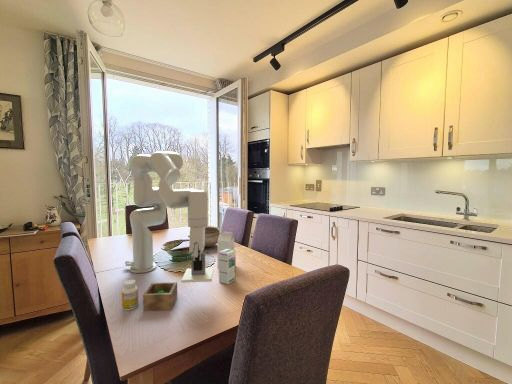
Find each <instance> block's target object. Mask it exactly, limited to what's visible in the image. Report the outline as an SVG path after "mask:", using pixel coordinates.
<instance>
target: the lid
mask: <svg viewBox="0 0 512 384" xmlns="http://www.w3.org/2000/svg"><path fill="white" fill-rule="evenodd" d="M198 255H199V257H200V254H198ZM190 259H191V260H190V262H191V263H190V265H191V268H190V267H189V268H186V269H185V272H184V274H183V276H182V278H181V279H180V280H181V283H182V284H183V283H184V284H186V283H204V282H205V283H208V282H211V283H212V282H213V276H214V271H215V268H214V267H206V253H204V252H203V254H201V260H202V270H201V271H194V268H193V260H194V253H191V256H190Z"/></svg>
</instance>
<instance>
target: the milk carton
mask: <svg viewBox="0 0 512 384" xmlns="http://www.w3.org/2000/svg"><path fill="white" fill-rule="evenodd" d="M219 232H220V234H219V237H218V241H217V269H219V252H220V251H223V250H225V249H231V250H235V237H234V234H233V232H231V231H219Z"/></svg>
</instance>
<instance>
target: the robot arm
mask: <svg viewBox="0 0 512 384" xmlns="http://www.w3.org/2000/svg"><path fill="white" fill-rule="evenodd" d="M130 161H131V162H130V168H131V173H132V176H133V177H132V178H133V203H134V205H135V206H137V207H143V208H138V209H135V210H134V209H133V211H131V213H130V214H129V222H130V227H131V232H132V233H131V235H132V236H131V237H132V260H126V261H124V262H125V263H124V264H125V266H126V267H129V266H130V267H129V270H130V272H131V273H135V274H142V273H145V274H146V273H149V272H152V271H153V270H156V268H157V264H156V263H155V262H154V243H153V240H154V239H153V237H154V236H153V233H152V231H151V230H150V229H149V228H148V227H153V226H159V225H162V224H164V223H165V222H166V218H167V208H169V209H172V210H176V209H177V210H178V209H187V227H188V228H189V236H190V238H189V244H188V245H189V246H188V247H189V248H188V249H189V251H188V252H189V254H191V255H192V254H194V260H193V268H194V271H201V270H202V260H201V254H203V253H204V250H205V248H204V247H205V227H207V226H209V215H208V213H209V212H208V211H209V208H208V205H209V204H208V203H209V200H208V195H209V194H208V192H207V190H203V189H195V188H179V189H173V188H172V187H171V186H172V185H174V184H175V183H176V182H178V181H179V180H180V178H181V171H180V170H181V169H182V168H183V166H184V161H183V157H182V156H181V154H180V153H178V152H173V151H163V150H162V151H161V150H159V151H155V152H153V153H151V154H136V155H134V156H133V157H132V159H131V160H130ZM151 173H155V174H157V175H158V177H159V179H160V180H159V181H158V187H153V178H152V176H151ZM144 207H146V208H144ZM198 254H200V257H199V255H198Z"/></svg>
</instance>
